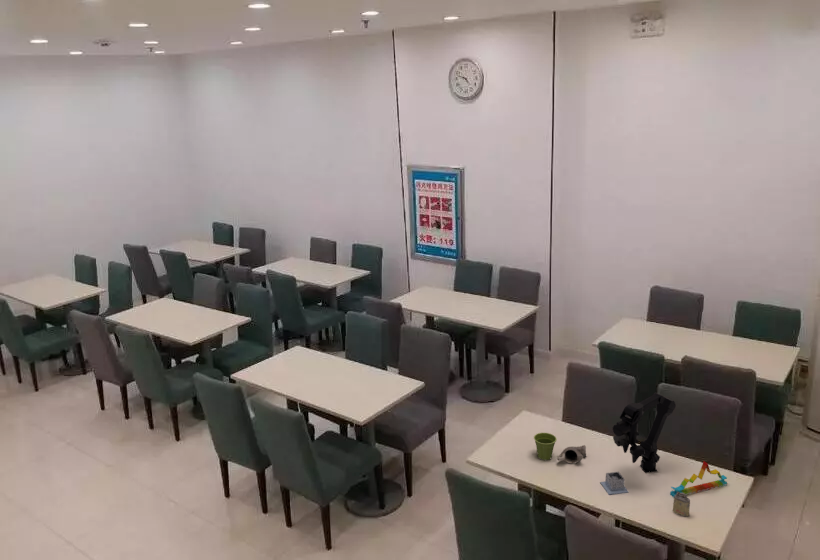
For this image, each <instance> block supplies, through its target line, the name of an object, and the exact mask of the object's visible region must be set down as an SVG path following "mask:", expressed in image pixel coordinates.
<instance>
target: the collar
mask: <svg viewBox="0 0 820 560" xmlns="http://www.w3.org/2000/svg"><path fill="white" fill-rule="evenodd" d="M612 476H616V477H618V479H615V480H612V479H611V477H612ZM625 481H626V479H625V478H624V477H623V475H622V474H621V473H620V471H612V472H606V473H605V481H604V482H605V484H606V485H607V487H608V488H609V489H610V491H619V490H624V486H625Z"/></svg>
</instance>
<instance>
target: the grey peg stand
mask: <svg viewBox="0 0 820 560" xmlns="http://www.w3.org/2000/svg"><path fill="white" fill-rule="evenodd" d="M611 479H612V480H615V479H618V477H616V476H612V477H611ZM599 483H600V485H601V486H602V488H603V489H604V490H605V492H606V493H607V494H608V496H612V495H622V494H628V493H629V492H630V491H629V490H628V489H627V488H626V486H625V485H624V490H619V491H610V489H609V488H608V487H607V485H606V484H605V481H600V482H599Z"/></svg>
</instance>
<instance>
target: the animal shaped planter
mask: <svg viewBox="0 0 820 560" xmlns="http://www.w3.org/2000/svg"><path fill="white" fill-rule="evenodd" d="M586 449H587V447H586V445H585V444H583V445H580V446H567V447H566V448H564V449H563V450H562V451H561V453H560V454H559V455H558V456H557V457H556V459H557V461H560V462H562V461H563V462H565V463H567V464H577V463H579V462H581V461H582V460H583V458H584V457H587V453H586V452H587V451H586Z"/></svg>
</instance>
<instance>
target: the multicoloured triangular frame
mask: <svg viewBox="0 0 820 560" xmlns="http://www.w3.org/2000/svg"><path fill="white" fill-rule="evenodd" d="M705 472H707V473H709V474H710V475H717V477H718V478H719V479H718V480H717V479H716V480H713V481H709V482H705V483H701V484H697V485H692V486H688V487H687V485H688V483H691V484H693V483H694V482H695V481H696V480H697V478H698V479H700V480H703V478H704V474H705ZM726 479H728V477H727V476H725V475H724V474H721V472H720V471H719V470H718V469H716V468H715V469H712V470H711V469H710V466H709V463H708V462H706V461H705V460H703V462H702V465H701V468H700V471H699V473H698V475H697V474H696V473H693V474H692V475H691V477H689V478H686V477H684V479H682V482H681V483H680V485H679V486H676V487H673V486H670V488H671V489H673V490H671V491H670V493H669V495H670V496H671V497H672V498H674V496H675V495H676V493H677V492H680V493H684V494H686V495H692V494H697V493H700V492H704V491H708V490H709V491H710V490H713V489H717V488H722V487H726V486H727V484H728V482H727V481H726Z"/></svg>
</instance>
